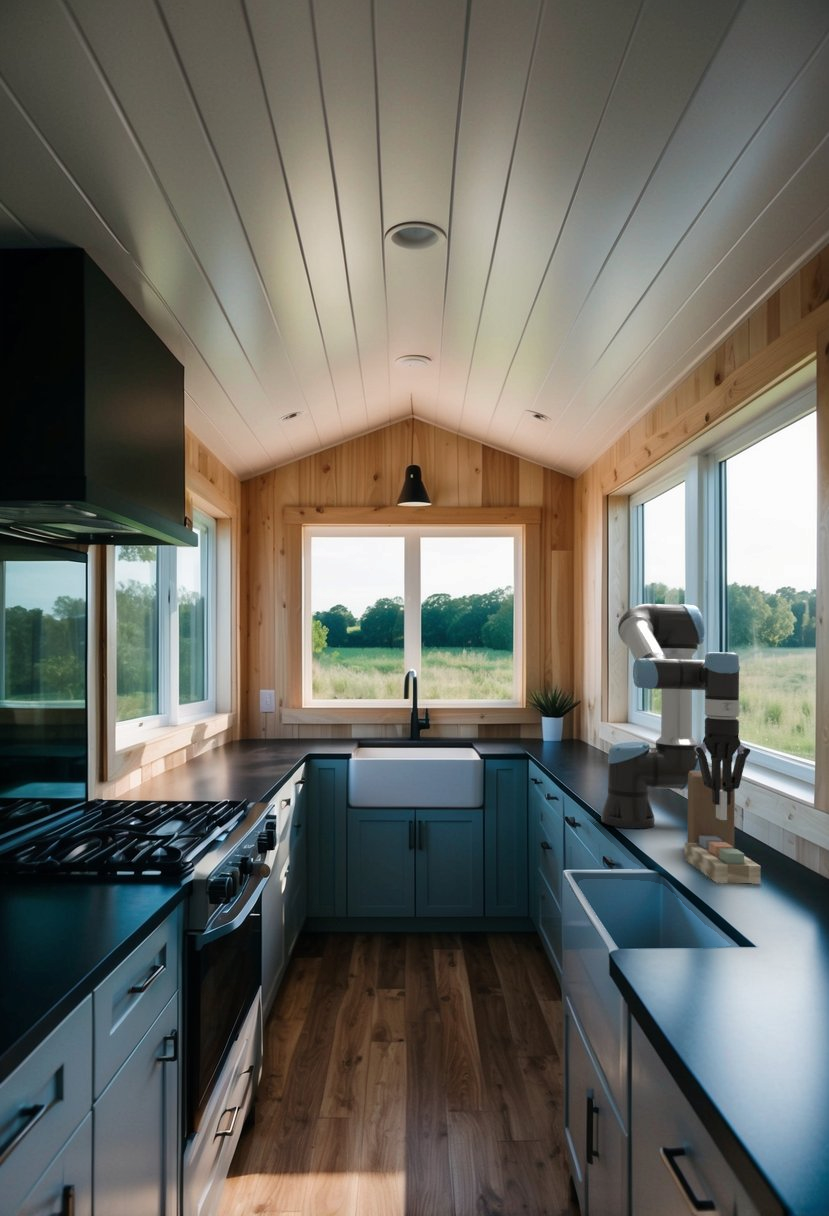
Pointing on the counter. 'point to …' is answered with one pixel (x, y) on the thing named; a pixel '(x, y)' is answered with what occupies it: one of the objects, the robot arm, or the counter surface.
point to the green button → (731, 856)
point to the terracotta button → (718, 847)
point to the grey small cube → (707, 841)
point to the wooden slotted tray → (722, 866)
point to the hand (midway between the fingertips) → (721, 818)
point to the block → (707, 812)
